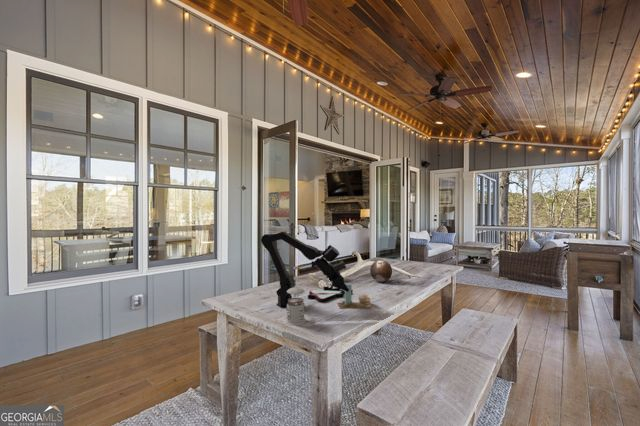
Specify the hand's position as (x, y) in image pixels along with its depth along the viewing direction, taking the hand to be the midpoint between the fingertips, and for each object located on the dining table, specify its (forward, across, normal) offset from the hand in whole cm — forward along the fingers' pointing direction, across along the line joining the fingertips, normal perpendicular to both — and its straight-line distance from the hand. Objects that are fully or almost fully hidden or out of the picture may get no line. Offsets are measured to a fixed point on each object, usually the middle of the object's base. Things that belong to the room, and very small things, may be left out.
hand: (347, 288), depth 157 cm
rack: (+10, 0, +5) cm, 11 cm away
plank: (+7, 0, +6) cm, 9 cm away
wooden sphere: (+31, +54, -16) cm, 64 cm away
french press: (-11, -15, +26) cm, 32 cm away
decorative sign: (+2, +21, +12) cm, 24 cm away
